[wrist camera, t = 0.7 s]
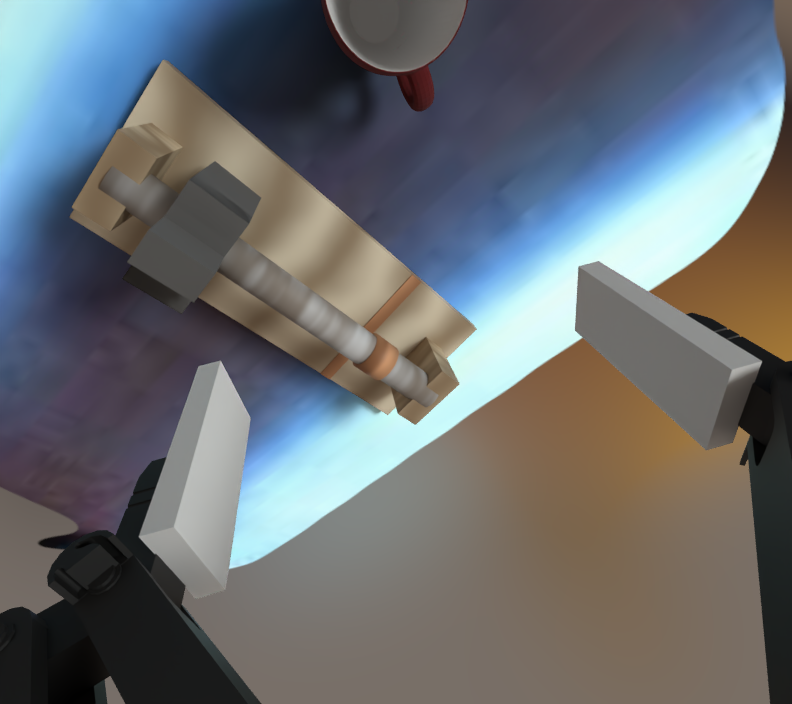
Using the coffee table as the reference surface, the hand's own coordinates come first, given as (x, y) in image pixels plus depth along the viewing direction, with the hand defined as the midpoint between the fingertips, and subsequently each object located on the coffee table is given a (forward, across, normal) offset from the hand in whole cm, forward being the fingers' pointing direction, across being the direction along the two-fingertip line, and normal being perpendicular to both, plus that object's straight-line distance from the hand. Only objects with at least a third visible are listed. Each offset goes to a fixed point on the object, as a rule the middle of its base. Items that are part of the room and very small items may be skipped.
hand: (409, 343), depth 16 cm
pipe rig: (+26, -6, -6) cm, 27 cm away
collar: (+23, -11, +1) cm, 26 cm away
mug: (+26, +6, +10) cm, 29 cm away
